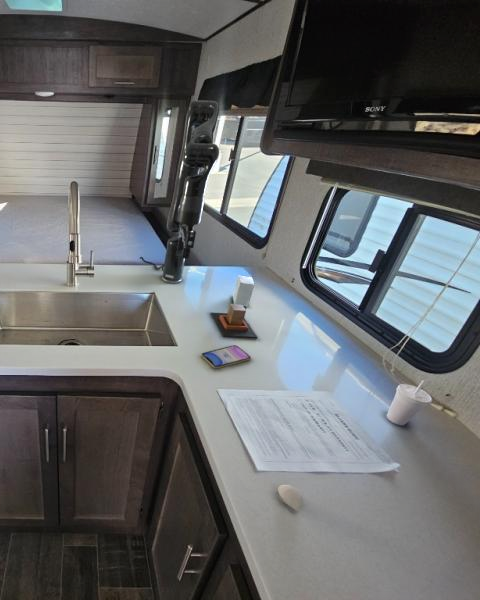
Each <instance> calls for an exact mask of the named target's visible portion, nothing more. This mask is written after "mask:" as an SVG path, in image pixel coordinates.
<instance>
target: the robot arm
mask: <svg viewBox="0 0 480 600" xmlns="http://www.w3.org/2000/svg"><path fill="white" fill-rule="evenodd" d="M219 114H220V106H219V103H218V101H215V100H197V99H196V100H195V99H193V100H191V101H190V103H189V104H188V107H187V112H186V117H185V123H184V132H183V139H182V146H181V151H180V156H179V160H178V165H177V170H176V176H175V182H174V190H173V196H172V200H171V204H170V208H169V212H168V216H167V221H166V229H167V231H168V232H169V233H177V235H175V236H172V237H170V238H168V240H167V244H166V251H165V259H164V262H163V263H162V265H161V266H157V265H156V264H155V263H153V262H151V261H148V260H145V259H144V257H143V256H140V257H139V260H141V261H142V262H143V263H145V264H149V265H152V266H153V267H154V269H155V270H157V271H159V270H160V269H161V271H162V276H161V280H163V281H164V282H166V283H170V284H179V283H181V282H182V279H183V273H184V267H185V263H186V259H189V258H190V254H191V249H194V246H195V242H196V241H195V240H196V235H197V230H195V229H194V226H197V225H200V223H201V221H202V215H203V209H204V206H205V205H204V204H205V196H206V190H207V186H208V182H209V179H210V176H211V173H212V171H213V169H214V168H215V166H216V164H217V162H218V159H219V156H220V148H219V146H218V144H216V143H214V133H215V130H216V126H217V122H218V118H219ZM202 169H203V170H202Z"/></svg>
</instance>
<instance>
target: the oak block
mask: <svg viewBox="0 0 480 600" xmlns="http://www.w3.org/2000/svg"><path fill="white" fill-rule="evenodd" d="M246 312H247V310H246V308H245V306H242V305H236V304H234V303H233V304H232V303H230V304H229V306H228V309H227V312H226V313H227V316H226V320H225V321H226V323H227V324H228V325H232V326H242V323H243V319H245V316H246Z"/></svg>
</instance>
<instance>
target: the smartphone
mask: <svg viewBox="0 0 480 600" xmlns="http://www.w3.org/2000/svg"><path fill="white" fill-rule="evenodd" d="M200 355H201V357H202V358H203V360H205V361H206V362H207V363H208V364H209V365H210V366H211V368H214V369H220V368H225V367H229V366H232V365H236V364H240V363H243V362H247V361H251V359H252V357H251V356H250V355H249V354H248V353H247V352H245V351H244V350H243V349H242V348H240V347H239V346H238V345H236V344H234V345H230V346H225V347H222V348H217V349H213V350H208V351H205V352H202V353H201V354H200Z"/></svg>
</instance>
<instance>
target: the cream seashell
mask: <svg viewBox="0 0 480 600" xmlns="http://www.w3.org/2000/svg"><path fill="white" fill-rule="evenodd" d="M276 492H277V495H278V498H279V499H280V500H281V501H282V502H283V503H285V504H286V505H287V506H288V507H290V508H291V509H293V510H295V511H297V512H299V511H300V509H301V507H302V500H303V499H302V494H301V492H300V491H299V489H298V488H296V487H295V486H293V485H290V484H281V485H279V486H278V488H277V490H276Z"/></svg>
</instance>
